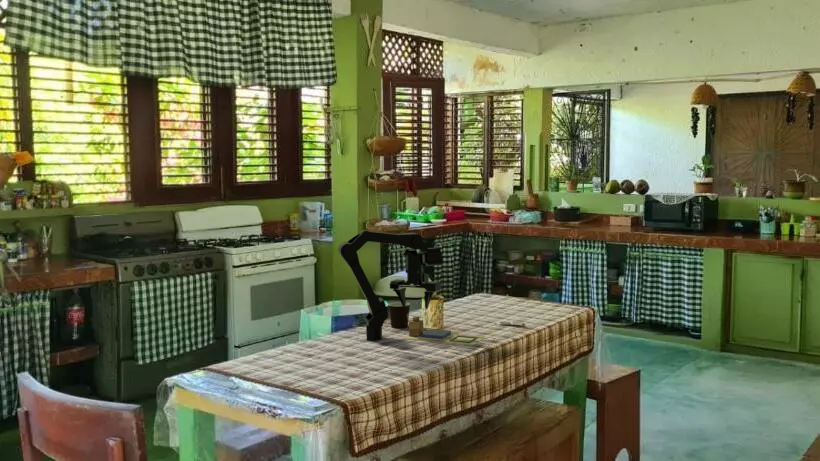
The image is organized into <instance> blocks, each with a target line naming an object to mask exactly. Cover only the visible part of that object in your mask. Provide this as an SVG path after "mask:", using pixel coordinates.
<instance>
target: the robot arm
mask: <svg viewBox="0 0 820 461" xmlns="http://www.w3.org/2000/svg"><path fill="white" fill-rule="evenodd" d="M368 242H371V243H381V244H382V243H383V244H392V245H399V246H402V247H405V248H404V250H403V251H402V252H401V253H400V255H402V256H406V269H405V273H406V279H407V280H406V279H397V278H395V279H393V280H391V281H390V283H389V289H390V290H392V291H393V292H395V294H396V296H397V297H398V299H399V301H400V302H401V303H402V305H403V307H405V306H406V303H407V301H406V290H407V288H413V289H414V288H417V289H418V288H419V289H425V291H424V307H425V309H426V310H428V308H429V305H430V303H431V300H432V297H433V295H434V293H436V292H438V291H439V290H441V288H442V285H441V283H440V281H436V280H435V281H432V280H430V274H428V273H426V272H425V269H424V268H423V264H425V266H426V267H434V266H442V265H443V262H444V258H443V254H442V253H443V252H442V251H441V250H442V249H441V248H442V247H440V246H439V247H438V246H436V247H427V246H426V244H425V243H424V239H423V237H422V235H421V234H418V233H416V232H402V233H393V232H383V231H381V232H380V231H373V230H366V229H363V230H361V231H360V232H359V233H358V234H356V235H354V236H353V237H351V238H350V239H349V240H348V241H343V242H341V243H340V244H339V245H338V248H337V251H338V252H337V253H338V254H339V255H340V257H341V258H342V259H343V261H344V262H345V263H346V265H347V266H348V267H349V268H350V271H351V273H352V274H353V276H354V278H355V280H356V282H357V283H358V286H359V288H360V290H361V292H362V294H363V295H364V296H363V297H364V298H365V301H366V303H367V308H368V310H369V311H368V313H367V315H366V316H364V318H363V319H364V322H365V324H366V325H365V331H366V334H365V335H366V341H367V342H377V341H381V340H382V339H383V326H384V323H385V321H386V320H387V319H388V317H389V307H387V305H386V302H385V300H384V299H383V298H382V297H379V298H378V297H377V295H376V293H375V291H374V289H373V287H372V285H371V283H370V281H369V279H368V278H367V275H366V273H365V271H364V270H363V267H362V265H361V262H360V259H359V254H358V251H360V250H361V248H362V247H364V246H365V244H366V243H368ZM409 249H410V250H409ZM417 250H419V252H418V251H417ZM405 280H406V281H405ZM429 280H430V281H429Z"/></svg>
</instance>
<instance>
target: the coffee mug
mask: <svg viewBox="0 0 820 461" xmlns="http://www.w3.org/2000/svg"><path fill="white" fill-rule="evenodd" d="M387 305H388V307H387V308H388V309H389V310H388V315H389V320H390V327H391V329H397V330H400V329H401V330H402V329H406V328H409V318H410V309H411V308H410V307H411V303H409V302H406V306H405V307H403V305H402V303H401V301H400V302H399V301H398V302H397V301H396V302H389V303H388V304H387Z"/></svg>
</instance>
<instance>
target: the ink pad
mask: <svg viewBox="0 0 820 461" xmlns="http://www.w3.org/2000/svg"><path fill="white" fill-rule="evenodd" d="M423 332H424V333H422V334H420V336H419V337H418V339H421V340H432V341H445V340H446V339H448V338H450V337H452V336H453V335H454V334H455V333H454V332H453V333H452V331H451V330H444V329H433V328H431V329H428V330H426V331H423Z"/></svg>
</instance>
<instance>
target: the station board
mask: <svg viewBox="0 0 820 461" xmlns="http://www.w3.org/2000/svg"><path fill="white" fill-rule="evenodd" d="M424 332H425V331H423V333H424ZM485 338H486V336H483V335H482V336H481V335H469V334H459V333H458V334H457V333H454V335H453V336H452V337H450V338H448V339H446V340H445V341H432V340H421V339H418V337H411V336H409V334H408V335H406V336H404V337H402V338H401V340H406V341H414V342H417V341H418V342H426V343H427V342H428V343H439V344H450V345H451V344H452V345H462V346H471V347H472V346H474V345H475V344H477V343H479V342H480V341H482V340H483V339H485Z"/></svg>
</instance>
